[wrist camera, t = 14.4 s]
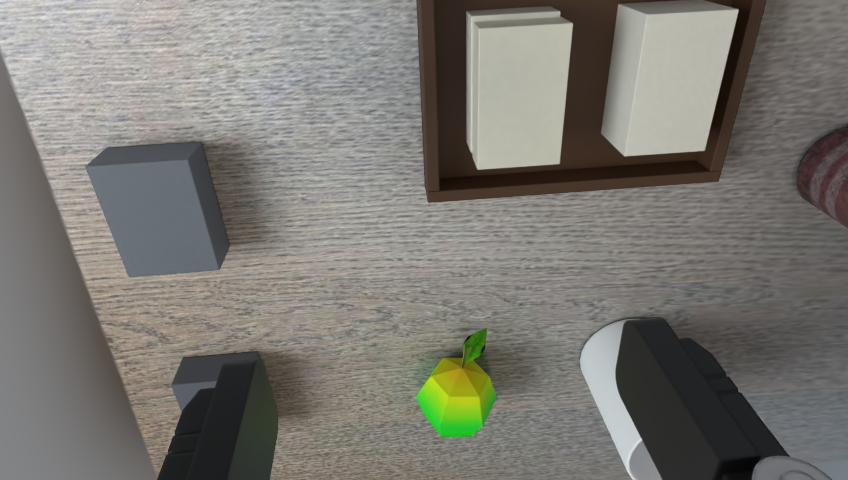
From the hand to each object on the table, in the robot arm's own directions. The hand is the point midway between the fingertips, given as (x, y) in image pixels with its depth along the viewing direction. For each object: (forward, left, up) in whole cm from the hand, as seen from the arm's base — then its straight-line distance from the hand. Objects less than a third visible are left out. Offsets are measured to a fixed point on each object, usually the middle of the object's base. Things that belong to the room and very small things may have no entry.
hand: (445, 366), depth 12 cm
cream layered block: (0, +7, -25) cm, 26 cm away
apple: (+24, +3, -25) cm, 35 cm away
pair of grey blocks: (+16, -16, -25) cm, 34 cm away
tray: (0, +11, -25) cm, 28 cm away
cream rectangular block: (0, +16, -25) cm, 29 cm away
